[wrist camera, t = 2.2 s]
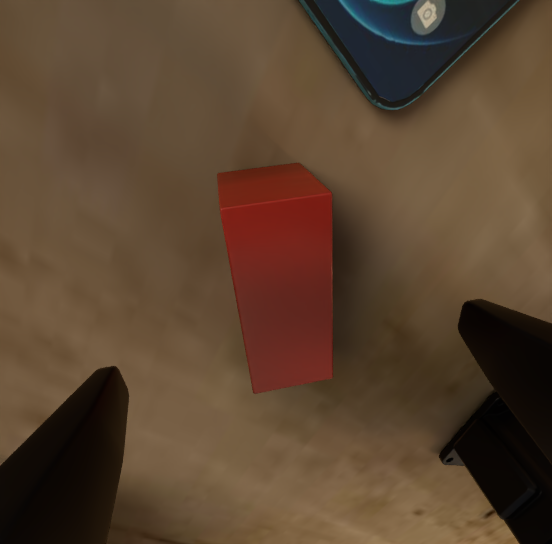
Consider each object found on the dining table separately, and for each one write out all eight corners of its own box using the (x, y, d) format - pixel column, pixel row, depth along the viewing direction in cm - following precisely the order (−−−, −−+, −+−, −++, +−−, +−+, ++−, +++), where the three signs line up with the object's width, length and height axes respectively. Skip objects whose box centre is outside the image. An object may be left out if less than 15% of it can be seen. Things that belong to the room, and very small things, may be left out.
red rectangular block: (216, 172, 11) (219, 208, 8) (299, 162, 11) (332, 192, 8) (244, 327, 14) (253, 394, 11) (307, 316, 15) (333, 378, 12)
